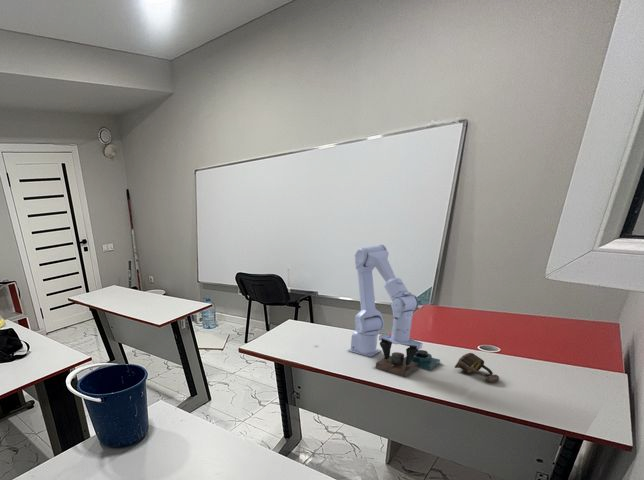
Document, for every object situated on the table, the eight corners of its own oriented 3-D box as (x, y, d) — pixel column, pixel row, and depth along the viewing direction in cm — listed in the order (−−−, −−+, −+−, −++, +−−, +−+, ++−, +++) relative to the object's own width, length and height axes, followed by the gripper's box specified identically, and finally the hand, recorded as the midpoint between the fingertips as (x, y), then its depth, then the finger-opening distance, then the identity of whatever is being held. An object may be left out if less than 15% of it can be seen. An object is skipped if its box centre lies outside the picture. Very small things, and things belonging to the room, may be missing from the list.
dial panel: (375, 368, 139) (376, 362, 138) (387, 360, 143) (388, 354, 142) (405, 377, 130) (406, 370, 129) (417, 369, 135) (418, 362, 134)
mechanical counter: (483, 352, 129) (454, 348, 130) (510, 364, 117) (479, 360, 118) (475, 370, 132) (447, 367, 132) (502, 384, 119) (471, 380, 120)
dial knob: (388, 362, 136) (389, 353, 135) (394, 359, 138) (395, 350, 137) (399, 366, 133) (401, 356, 132) (405, 362, 135) (406, 353, 134)
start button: (414, 356, 138) (414, 352, 137) (418, 353, 140) (419, 349, 139) (424, 358, 135) (424, 354, 134) (428, 355, 137) (429, 351, 136)
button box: (401, 362, 141) (402, 354, 139) (411, 356, 144) (412, 348, 143) (429, 370, 133) (431, 362, 131) (439, 363, 137) (441, 355, 135)
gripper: (375, 326, 134) (372, 359, 139) (417, 335, 123) (412, 370, 128) (385, 321, 138) (382, 353, 143) (427, 329, 126) (422, 364, 131)
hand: (397, 361), depth 136 cm, fingers open, 7 cm apart
